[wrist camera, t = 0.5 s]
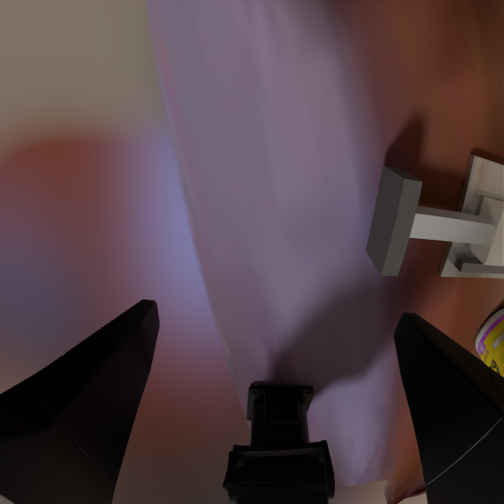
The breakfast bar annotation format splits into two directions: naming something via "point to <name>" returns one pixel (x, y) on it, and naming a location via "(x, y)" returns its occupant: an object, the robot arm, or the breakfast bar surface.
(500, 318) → the supplement bottle
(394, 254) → the thick grey end plate
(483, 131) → the breakfast bar surface
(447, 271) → the track
